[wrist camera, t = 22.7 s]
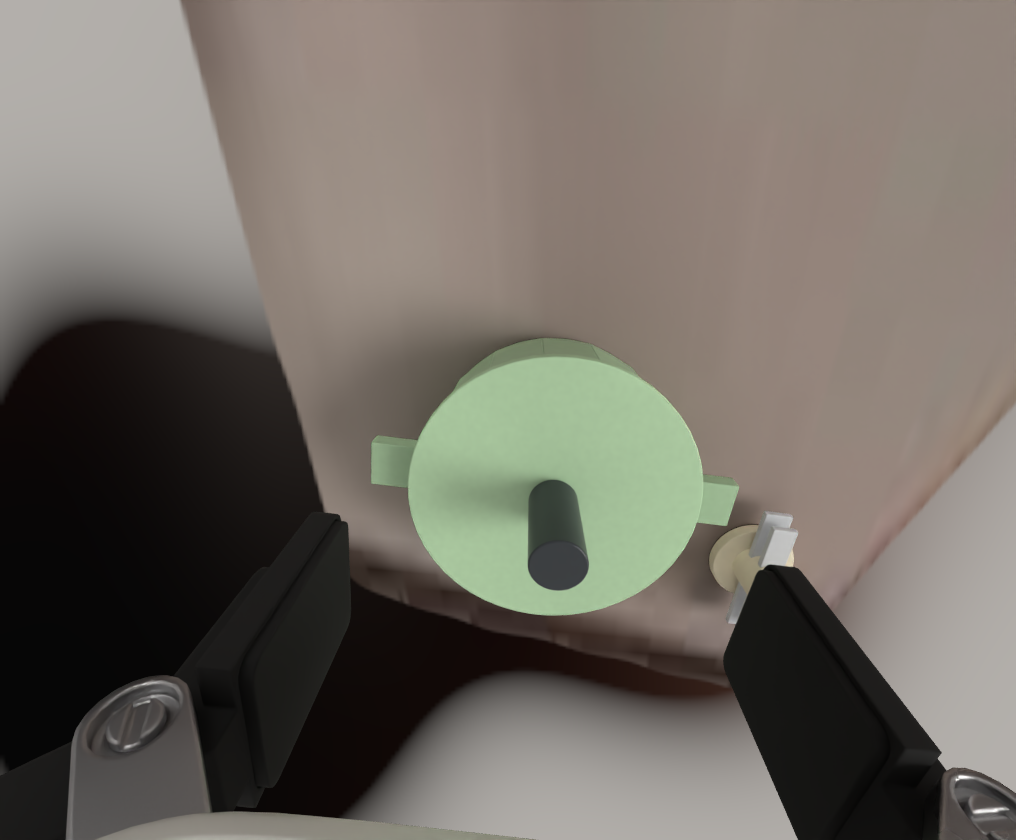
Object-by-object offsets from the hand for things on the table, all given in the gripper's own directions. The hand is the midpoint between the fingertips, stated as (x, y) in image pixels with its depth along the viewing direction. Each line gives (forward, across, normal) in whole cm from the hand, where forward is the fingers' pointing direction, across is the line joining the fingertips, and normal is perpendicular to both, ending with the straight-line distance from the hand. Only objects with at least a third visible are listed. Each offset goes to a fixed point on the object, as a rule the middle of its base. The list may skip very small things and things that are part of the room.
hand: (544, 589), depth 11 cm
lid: (+12, -1, +5) cm, 13 cm away
